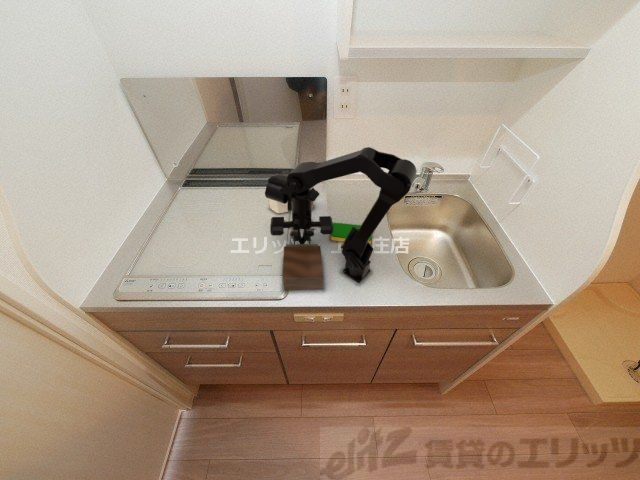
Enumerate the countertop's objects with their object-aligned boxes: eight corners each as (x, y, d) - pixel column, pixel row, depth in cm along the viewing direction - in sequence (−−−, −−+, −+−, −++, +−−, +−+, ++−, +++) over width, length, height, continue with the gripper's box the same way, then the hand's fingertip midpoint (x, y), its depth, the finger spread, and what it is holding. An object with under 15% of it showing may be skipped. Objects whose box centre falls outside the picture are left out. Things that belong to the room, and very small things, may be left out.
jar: (288, 215, 103) (286, 189, 94) (267, 212, 104) (264, 186, 95) (294, 201, 109) (293, 175, 100) (274, 198, 110) (272, 172, 101)
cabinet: (284, 258, 88) (283, 246, 83) (319, 257, 89) (320, 245, 84) (283, 290, 79) (282, 278, 75) (322, 289, 80) (323, 277, 76)
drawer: (287, 243, 91) (286, 234, 88) (316, 243, 92) (317, 234, 89) (286, 281, 80) (285, 272, 77) (319, 280, 81) (320, 271, 78)
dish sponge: (370, 245, 94) (371, 240, 92) (331, 240, 94) (331, 235, 93) (370, 231, 98) (371, 226, 97) (332, 226, 99) (333, 221, 98)
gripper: (331, 190, 83) (328, 227, 94) (270, 190, 82) (274, 228, 93) (335, 213, 75) (331, 250, 86) (267, 214, 74) (272, 252, 85)
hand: (302, 244), depth 88 cm, fingers closed
